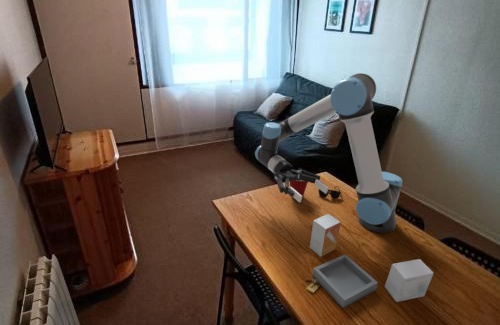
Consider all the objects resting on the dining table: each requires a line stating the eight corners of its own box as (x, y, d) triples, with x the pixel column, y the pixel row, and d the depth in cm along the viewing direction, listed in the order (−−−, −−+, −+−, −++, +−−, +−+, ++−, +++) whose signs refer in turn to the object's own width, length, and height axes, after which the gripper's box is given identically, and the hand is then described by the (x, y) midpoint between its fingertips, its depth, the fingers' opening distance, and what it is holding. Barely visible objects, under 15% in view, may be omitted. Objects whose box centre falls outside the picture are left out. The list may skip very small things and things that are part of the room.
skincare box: (397, 303, 93) (405, 278, 88) (384, 286, 98) (391, 263, 94) (425, 297, 95) (434, 272, 90) (411, 281, 101) (419, 257, 96)
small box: (321, 257, 110) (325, 229, 104) (309, 247, 115) (312, 220, 109) (336, 249, 114) (341, 221, 108) (324, 240, 119) (328, 213, 113)
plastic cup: (311, 194, 149) (314, 173, 144) (303, 204, 141) (305, 182, 136) (292, 188, 155) (293, 167, 149) (282, 197, 146) (284, 176, 141)
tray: (343, 261, 108) (345, 254, 107) (375, 290, 97) (377, 282, 95) (312, 275, 102) (313, 268, 100) (342, 308, 91) (344, 300, 89)
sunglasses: (317, 197, 147) (318, 188, 145) (318, 188, 158) (319, 179, 156) (339, 200, 145) (341, 191, 143) (338, 191, 156) (340, 182, 154)
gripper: (300, 169, 136) (334, 195, 121) (255, 181, 123) (286, 211, 108) (304, 155, 132) (339, 179, 117) (257, 165, 119) (290, 194, 104)
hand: (314, 194), depth 112 cm, fingers open, 13 cm apart
